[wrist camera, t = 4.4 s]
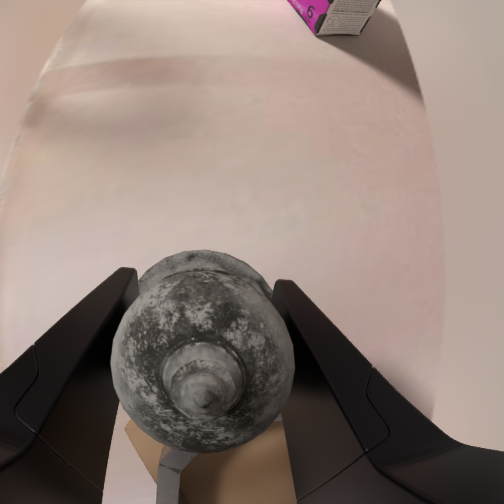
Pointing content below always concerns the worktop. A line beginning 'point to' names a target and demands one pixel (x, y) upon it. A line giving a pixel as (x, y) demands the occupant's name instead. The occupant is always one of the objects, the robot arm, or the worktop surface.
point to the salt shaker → (202, 354)
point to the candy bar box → (335, 15)
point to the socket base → (220, 470)
